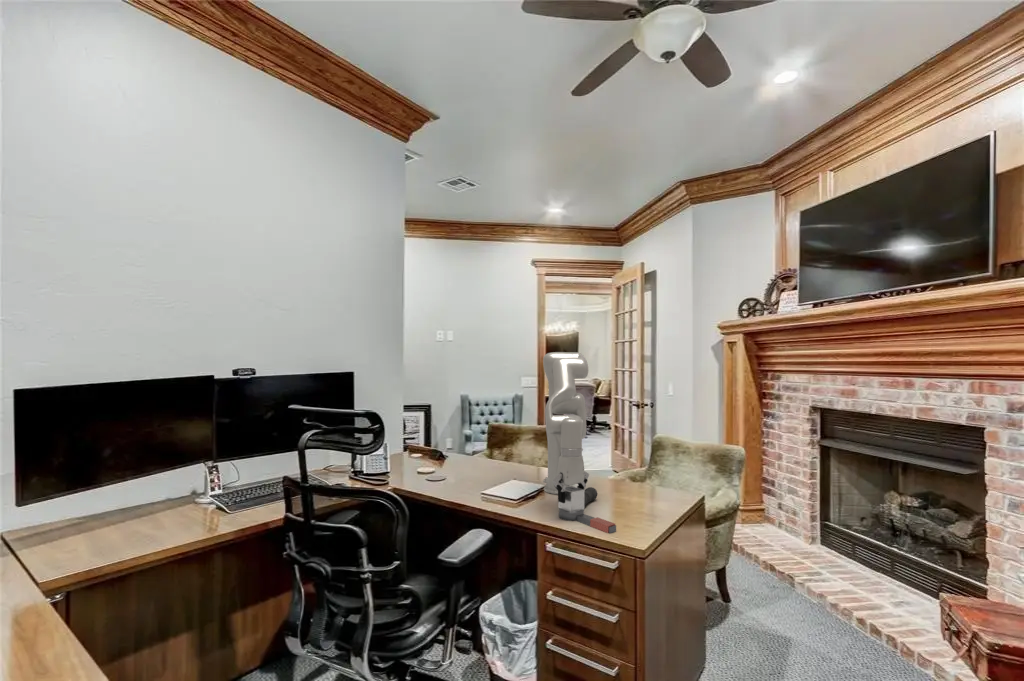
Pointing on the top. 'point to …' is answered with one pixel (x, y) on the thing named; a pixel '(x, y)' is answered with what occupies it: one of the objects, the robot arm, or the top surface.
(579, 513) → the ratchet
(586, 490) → the flashlight
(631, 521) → the top surface
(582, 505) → the socket
